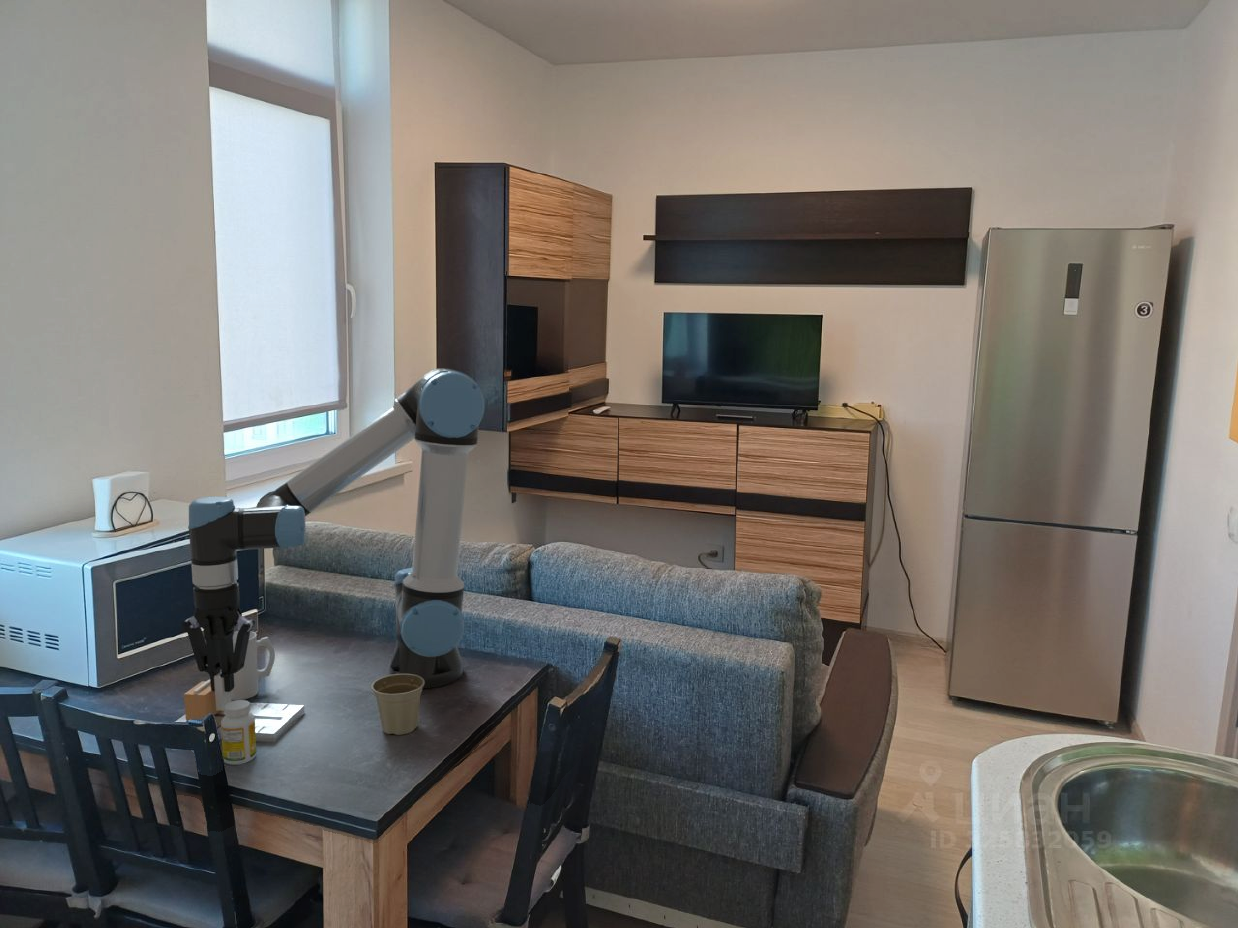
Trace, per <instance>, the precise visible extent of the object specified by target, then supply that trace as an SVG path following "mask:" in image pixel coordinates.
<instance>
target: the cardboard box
mask: <svg viewBox="0 0 1238 928" xmlns="http://www.w3.org/2000/svg"><path fill="white" fill-rule="evenodd" d="M183 700H184V713H185V714H184V715H185V717H186V720H190V719H202V718H204V717H205V716H206V715H207V714H208V713H213V714H214V715H215V714H217V713H218V712H219V711H220V710H216V699H215V691H212V690H211V685H210V678H209V679H207V680H206V681H205V680H204V681H203V680H202V681H200V682H199V683H198V684H196V685H195V686H193V687H192V688H191V689H189V690H188V691H186V692H185V693H184V694H183Z"/></svg>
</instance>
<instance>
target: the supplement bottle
mask: <svg viewBox="0 0 1238 928" xmlns="http://www.w3.org/2000/svg"><path fill="white" fill-rule="evenodd" d="M250 703H251V702H250V701H248V700H247V699H244V700H231V702H229V703H227V704H226V705H225V706H224V713H225V715H226V716H224V718H223V719H222V720H221V737H222V739H221V748H222V749H221V750H222V754H221V755H222V760H223V759H224V761H223V762H224V763H226V764H227V765H231V766H232V765H233V766H235V765H243V764H246V763H249V762H250V761H253V759H255V757H256V756H257V741H256V733H255V717H254V715H253V714H252V713H250Z"/></svg>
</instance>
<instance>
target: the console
mask: <svg viewBox="0 0 1238 928" xmlns="http://www.w3.org/2000/svg"><path fill="white" fill-rule="evenodd" d="M249 703H250V713H252V714H253V715H254V717H255V733H256V742H263V743H264V742H267V743H276V741H277V740H278V739H280V737H282V736H283V735H284V734H285V733H286V732H287V730H288V729H290V728H291V727H292V726H293V725H294V724H295V723H296V722H298V720H299V719H301V717H303V715H304V714H305V705H304V704H286V703H266V702H263V703H262V702H249ZM214 716H215V720H216V723H217V729H218V735H219V738H220V739H219V740H222V737H221V720H222V719H223V718H224V716H226V715H225V713H224V711H221V710H220V711H219V712H218V713H217V714H215V715H214ZM187 721H188V720H186V717H185V714H183V715H182V716H181V717H179V718H178V719H176V721H174V722H187Z"/></svg>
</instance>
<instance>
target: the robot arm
mask: <svg viewBox="0 0 1238 928" xmlns="http://www.w3.org/2000/svg"><path fill="white" fill-rule="evenodd" d="M484 413H485V398H484V395H483V393H482V390H481V388H480V386H479V385H478V383H477V382H476V381H475V380H474V379H473V378H472V377H470V376H469V375H468V374H465V373H464V372H462V371H458V370H456V369H454V368H448V367H443V368H436V369H433V370H431V371H429V372H426V373H425V374H424V375H422V376H421V377H420V378H419V379H418V380H417V381H416V382H415V383H414V384H413V385H412V386H411V387H409V388H408V389H407V390H406V391H404V392H403V393H402V394H400V395H399V396H397V397H396V398H394V401H393V406H392V407H391V408H390V409H388V410H387V411H385V412H384V413H383V414H380V415H379V416H377V418H375V419H374V420H373V421H371V422H370V423H368V424H367V425H365V426H364V427H363V428H361V429H359V430H358V431H357V432H356V433H354V434H352V435H351V436H350V437H348V438H347V439H345V440H344V441H343V442H341V443H339V445H337V446H336V447H334V448H333V449H332V450H330V451H328V452H327V453H326V454H324V455H323V456H322V457H320V458H318V459H317V460H315V461H314V462H313V463H312V464H310V465H309V466H307V467H306V468H305V469H303V470H301V471H300V472H298V473H297V474H296V475H294V476H293V477H292V478H290V479H289V480H288V481H287V482H285V483H284V484H282V485H280V486H279V487H278V488H276V489H274V490H271V491H268V492H267V493H265V494H264V495H263V496H262V497H261V498H260V499H259V500H258V502H257V503H256V507H248V508H247V507H246V508H245V507H243V508H240V507H236V505H235V504H234V500H233V499H232V498H230V497H227V496H209V497H207V496H206V497H201V498H197V499H195V500H192V502H191V503H190V504H189V505H188V525H187V530H188V536H189V546H190V547H189V548H190V558H191V559H190V560H191V561H190V562H191V564H190V565H191V578H192V579H191V580H192V584H193V585H194V587H193V590H192V591H193V604H194V606H195V610H194V611H193V615H192V616H190V617H189V618H186V619H185V620H184V621H182V622H181V626H182V628H183V629H184V631H185V632H186V633H187V635H188V639H189V641H190V645H191V648H192V652H193V655H194V659H195V661H196V666H197V668H198V670H199V672H201V673H203V672H205V673H207V674H208V675H209V679H210V685H211V690H212V691H215V699H216V710H221V711H224V706H225V705H226V704H227V703H229V702H232V700H231V691H232V690H233V689H234V673H236V672H238V671H239V670H240V669H242V668H243V667H244V663H245V657H246V652H247V646H248V641H249V636H250V631H252V630H253V627H255V624H256V622H255V620H254V619H250V620H249V619H247V618H246V617H245V616H243V611H242V610H241V608H240V585H239V582H237V580H238V579H239V570H238V569H239V567H238V554H237V551H246V550H263V549H264V550H265V549H289V548H292V547H293V548H294V547H300V546H303V545H304V544H305V543H306V538H307V536H306V535H307V529H306V528H307V527H306V517H307V516H308V515H309V514H311V513H312V512H313V511H315V510H316V509H317V508H319V507H320V506H321V505H323V504H324V503H326V502H327V501H329V500H330V499H332V498H334V496H335V495H337V494H339V493H340V492H342V491H343V490H344V489H345V488H347V487H349V486H350V485H352V483H354V482H355V481H357V480H358V479H360V478H361V477H363V476H364V475H365V474H367V473H369V472H370V471H371V470H373V469H374V468H376V467H377V466H378V465H380V464H381V463H382V462H384V461H385V460H387V459H388V458H390V457H391V456H393V454H395V453H397V452H398V451H400V450H401V449H403V448H404V447H405V446H407V444H410V443H411V442H412V441H415V442H416V443H417V444H418V446H419V447H420V448H421V460H420V471H419V483H418V494H417V496H418V497H417V507H416V519H415V520H416V521H415V530H414V533H415V534H414V545H413V555H412V567H409V568H408V567H407V568H403V569H400V570H398V571H397V572H396V573H395V575H394V583H393V587H394V598H395V600H394V601H395V623H396V624H395V626H396V628H395V629H396V630H395V632H396V643H395V645H394V646H395V647H394V649H393V652H392V657H391V659H390V663H389V666H388V667H389V668H388V675H394V674H413V675H417V676H420V677H422V678H423V679H424V681H425V684H424V686H423V687H422V689H429V688H430V689H431V688H438V687H442V686H446V685H449V684H451V683H454V682H455V681H457V680H459V679H460V678H461V677H462V675H463V674H464V673H463V671H464V670H463V668H464V666H463V665H464V664H463V660H462V657H461V654H460V652H459V648H458V644H459V643H460V642H461V640H462V639H463V636H464V633H465V632H464V631H465V625H466V623H465V617H464V616H463V604H464V603H463V601H464V592H465V583H464V581H463V580H462V579H461V578H460V577H459V576H458V572H459V571H458V569H459V561H460V560H459V559H460V558H459V557H460V549H461V547H460V546H461V539H462V537H461V536H462V527H463V525H462V524H463V515H464V514H463V513H464V503H465V492H466V483H467V482H466V479H467V471H468V470H467V469H468V459H469V453H470V452H471V451H473V449H474V448H476V447H477V445H478V438H479V437H478V436H479V428H480V427H479V425H480V423H481V421H482V419H483V417H484ZM236 626H237V628H236V629H237V631H239V632H238V634H237V638H236V644H235V650H234V648H233V635H234V632H235V627H236Z"/></svg>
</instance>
